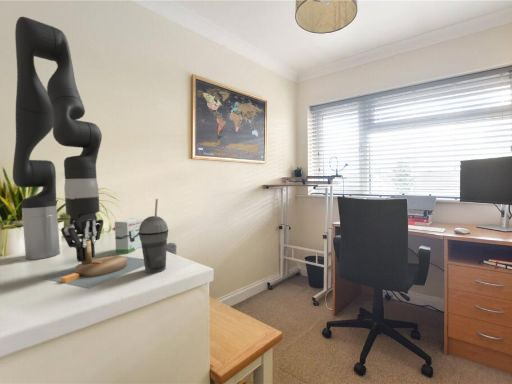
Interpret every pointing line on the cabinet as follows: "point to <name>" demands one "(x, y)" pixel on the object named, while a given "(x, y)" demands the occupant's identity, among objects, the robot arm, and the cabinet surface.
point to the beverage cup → (154, 242)
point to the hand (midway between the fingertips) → (86, 259)
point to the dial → (99, 264)
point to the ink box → (127, 235)
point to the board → (87, 282)
